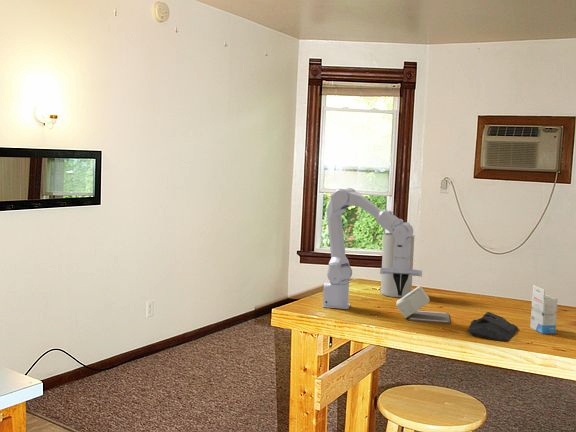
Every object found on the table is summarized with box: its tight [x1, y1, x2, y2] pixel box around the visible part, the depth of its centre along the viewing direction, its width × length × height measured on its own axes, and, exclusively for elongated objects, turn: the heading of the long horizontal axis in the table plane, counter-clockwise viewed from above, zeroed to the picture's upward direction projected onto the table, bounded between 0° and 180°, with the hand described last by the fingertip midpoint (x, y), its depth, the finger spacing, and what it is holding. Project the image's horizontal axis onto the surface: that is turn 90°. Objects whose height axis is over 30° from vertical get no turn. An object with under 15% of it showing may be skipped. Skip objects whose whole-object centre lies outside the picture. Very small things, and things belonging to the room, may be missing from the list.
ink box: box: [529, 284, 559, 335], centre depth 214 cm, size 9×5×15 cm, turn 5°
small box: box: [395, 285, 431, 319], centre depth 227 cm, size 8×6×10 cm
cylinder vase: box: [380, 232, 415, 299], centre depth 264 cm, size 12×12×25 cm
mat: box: [408, 310, 451, 325], centre depth 227 cm, size 14×14×1 cm
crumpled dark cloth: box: [467, 311, 519, 343], centre depth 211 cm, size 15×22×5 cm
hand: (399, 295), depth 228 cm, fingers closed
